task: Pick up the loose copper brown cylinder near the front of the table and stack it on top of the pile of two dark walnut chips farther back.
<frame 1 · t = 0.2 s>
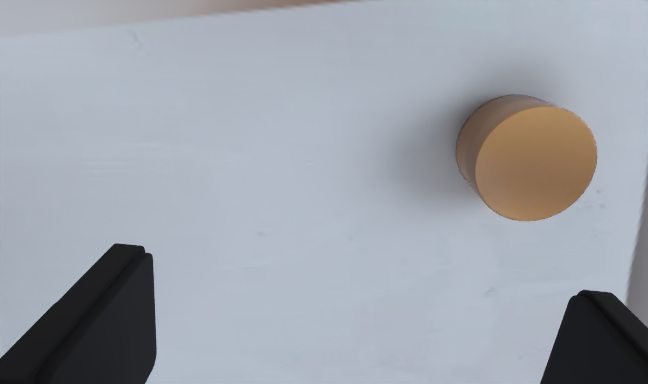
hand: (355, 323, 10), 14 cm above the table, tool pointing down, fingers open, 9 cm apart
copper brown cylinder: (508, 147, 23), on the table
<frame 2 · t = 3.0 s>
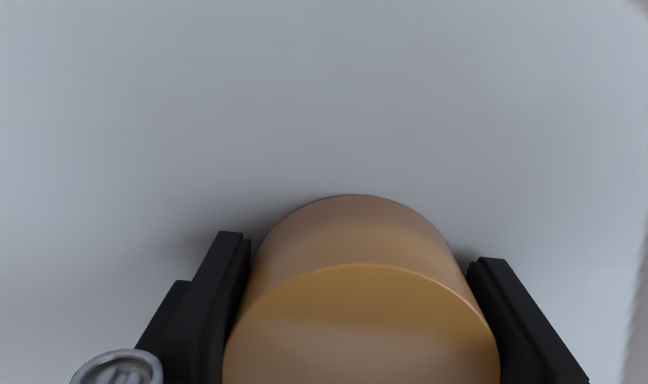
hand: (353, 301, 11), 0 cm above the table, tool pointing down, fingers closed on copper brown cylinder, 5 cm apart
copper brown cylinder: (353, 290, 11), on the table, touching gripper
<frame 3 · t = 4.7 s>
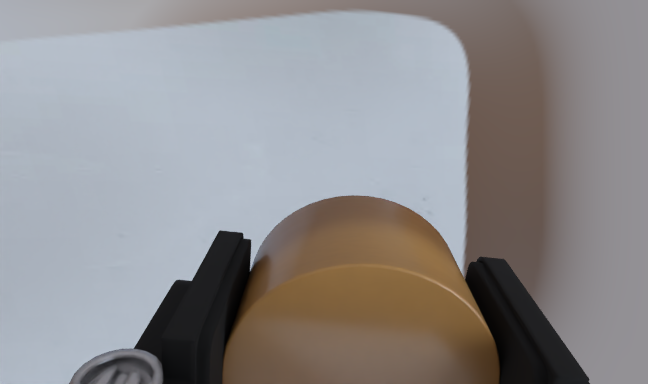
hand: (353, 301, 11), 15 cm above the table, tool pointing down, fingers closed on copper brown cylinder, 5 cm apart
copper brown cylinder: (353, 290, 11), point 14 cm above the table, touching gripper
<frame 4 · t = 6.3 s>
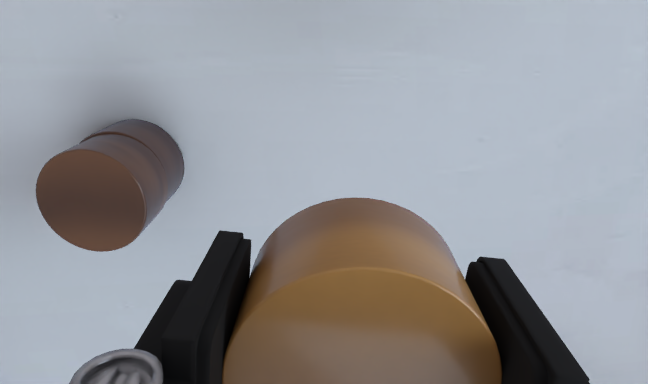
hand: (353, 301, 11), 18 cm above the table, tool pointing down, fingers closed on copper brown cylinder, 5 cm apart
copper brown cylinder: (353, 293, 11), point 17 cm above the table, touching gripper
pile chip top: (119, 181, 26), point 3 cm above the table, touching pile chip bottom
pile chip bottom: (140, 162, 29), on the table, touching pile chip top
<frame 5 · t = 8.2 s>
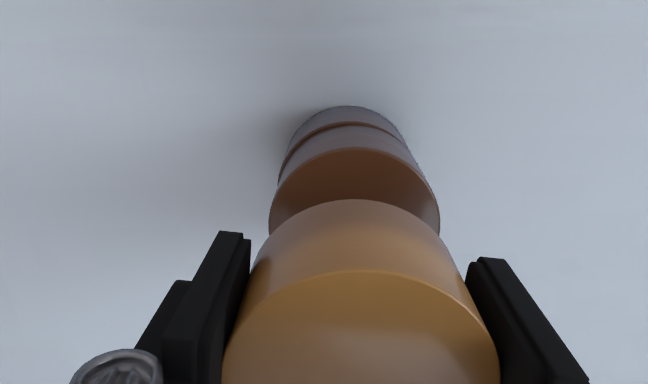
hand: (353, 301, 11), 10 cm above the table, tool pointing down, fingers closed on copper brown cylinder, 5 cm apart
copper brown cylinder: (352, 294, 11), point 10 cm above the table, touching gripper
pile chip top: (350, 194, 18), point 3 cm above the table, touching pile chip bottom
pile chip bottom: (346, 167, 21), on the table, touching pile chip top
when the fingers open (7 cm above the table, at t = 9.7 s): copper brown cylinder stays where it is, resting on pile chip top.
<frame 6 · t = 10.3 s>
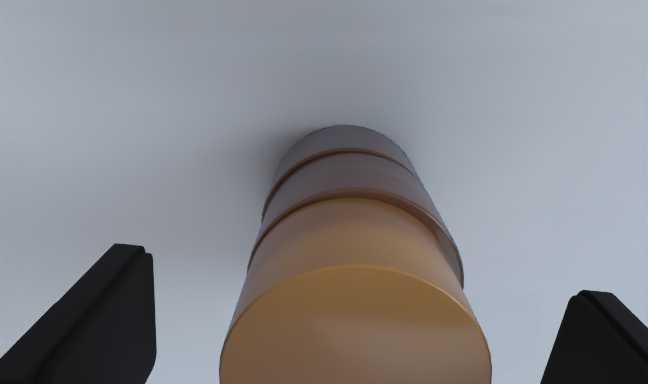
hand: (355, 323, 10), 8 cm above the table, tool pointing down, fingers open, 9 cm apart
copper brown cylinder: (349, 290, 12), point 6 cm above the table, touching pile chip top
pile chip top: (350, 235, 15), point 3 cm above the table, touching copper brown cylinder, pile chip bottom
pile chip bottom: (345, 196, 18), on the table, touching pile chip top
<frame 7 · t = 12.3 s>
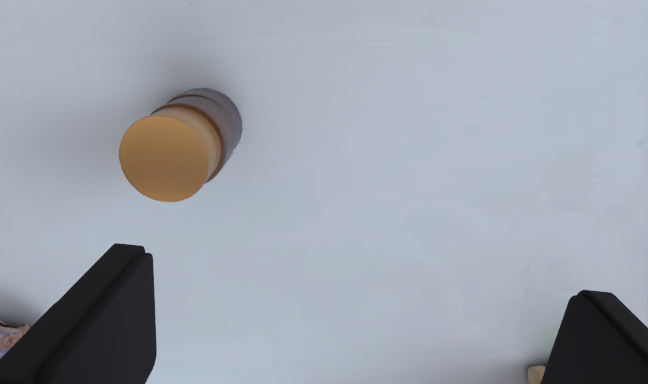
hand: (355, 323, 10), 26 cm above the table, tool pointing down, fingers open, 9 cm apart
copper brown cylinder: (180, 146, 29), point 6 cm above the table, touching pile chip top
pile chip top: (196, 135, 32), point 3 cm above the table, touching copper brown cylinder, pile chip bottom
purple mottled rock: (17, 355, 43), on the table
pile chip bottom: (206, 124, 35), on the table, touching pile chip top
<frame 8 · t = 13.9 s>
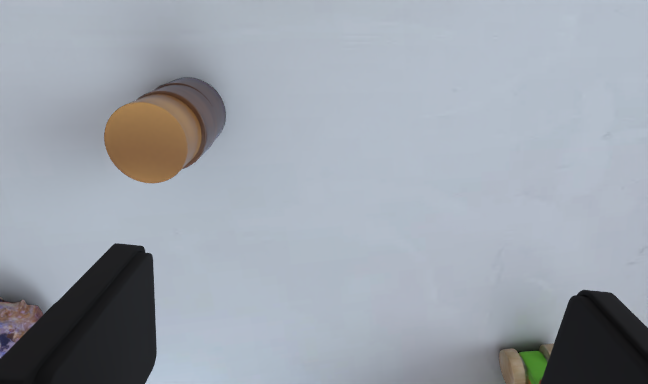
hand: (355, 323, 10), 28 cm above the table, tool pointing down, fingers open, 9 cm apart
copper brown cylinder: (163, 132, 31), point 6 cm above the table, touching pile chip top
pile chip top: (180, 122, 34), point 3 cm above the table, touching copper brown cylinder, pile chip bottom
purple mottled rock: (14, 330, 46), on the table
toy lion: (522, 381, 46), on the table
pile chip bottom: (191, 112, 37), on the table, touching pile chip top
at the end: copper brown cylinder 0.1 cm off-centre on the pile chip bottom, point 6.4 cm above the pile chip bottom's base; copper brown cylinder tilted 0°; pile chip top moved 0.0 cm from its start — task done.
